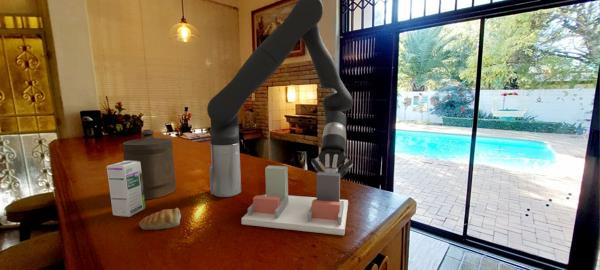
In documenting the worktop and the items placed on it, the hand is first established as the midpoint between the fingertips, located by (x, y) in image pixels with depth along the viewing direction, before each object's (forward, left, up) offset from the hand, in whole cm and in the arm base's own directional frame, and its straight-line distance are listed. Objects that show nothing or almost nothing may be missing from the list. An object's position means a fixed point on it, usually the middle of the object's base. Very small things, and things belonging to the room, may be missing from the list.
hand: (329, 189), depth 72 cm
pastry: (-41, -16, -7) cm, 45 cm away
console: (-8, -3, -6) cm, 11 cm away
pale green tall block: (-16, +2, -5) cm, 17 cm away
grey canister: (-62, +3, -7) cm, 62 cm away
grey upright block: (0, -2, -5) cm, 5 cm away
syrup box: (-56, -12, -7) cm, 58 cm away
